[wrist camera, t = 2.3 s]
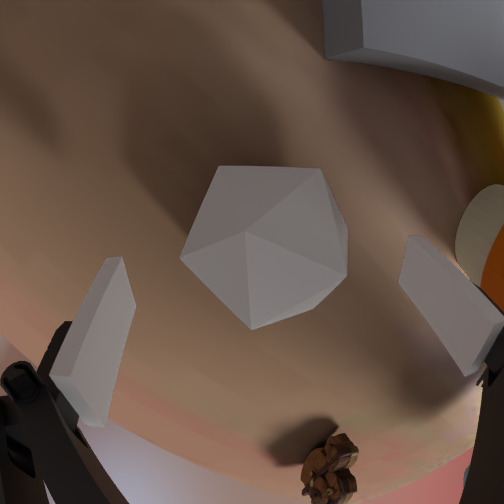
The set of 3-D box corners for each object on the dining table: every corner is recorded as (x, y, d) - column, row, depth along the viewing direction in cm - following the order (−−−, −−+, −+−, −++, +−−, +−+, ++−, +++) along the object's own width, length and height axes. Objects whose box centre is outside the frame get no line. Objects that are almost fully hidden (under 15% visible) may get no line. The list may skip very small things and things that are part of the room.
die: (191, 146, 18) (129, 292, 14) (329, 107, 14) (310, 295, 9) (254, 221, 24) (223, 345, 19) (366, 208, 20) (358, 355, 15)
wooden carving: (318, 425, 33) (335, 493, 25) (351, 420, 34) (372, 485, 25) (292, 470, 41) (301, 521, 32) (318, 467, 42) (330, 516, 33)
